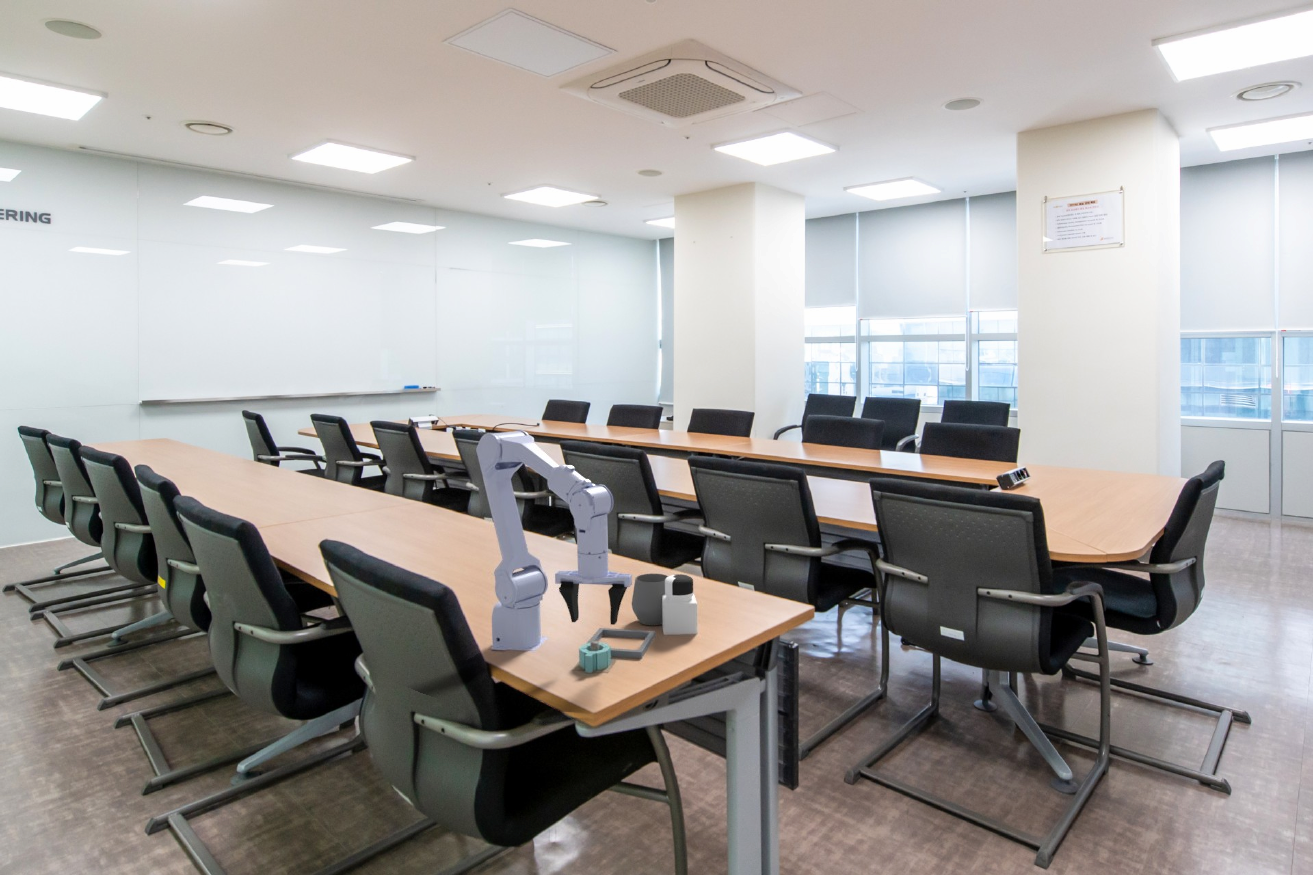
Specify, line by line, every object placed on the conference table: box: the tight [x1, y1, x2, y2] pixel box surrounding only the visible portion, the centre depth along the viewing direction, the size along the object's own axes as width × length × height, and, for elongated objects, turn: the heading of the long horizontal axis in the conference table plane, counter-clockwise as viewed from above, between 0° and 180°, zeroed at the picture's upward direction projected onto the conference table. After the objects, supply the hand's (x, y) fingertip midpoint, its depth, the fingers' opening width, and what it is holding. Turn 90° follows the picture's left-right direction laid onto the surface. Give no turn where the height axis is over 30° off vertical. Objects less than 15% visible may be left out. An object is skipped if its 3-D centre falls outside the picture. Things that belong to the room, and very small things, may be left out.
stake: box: [571, 641, 618, 674], centre depth 144 cm, size 7×7×5 cm
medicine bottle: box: [661, 574, 698, 636], centre depth 163 cm, size 7×7×12 cm
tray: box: [585, 627, 656, 659], centre depth 154 cm, size 12×12×2 cm
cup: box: [631, 572, 670, 626], centre depth 170 cm, size 10×9×10 cm
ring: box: [578, 642, 612, 674], centre depth 144 cm, size 7×6×3 cm
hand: (594, 621), depth 144 cm, fingers open, 7 cm apart
